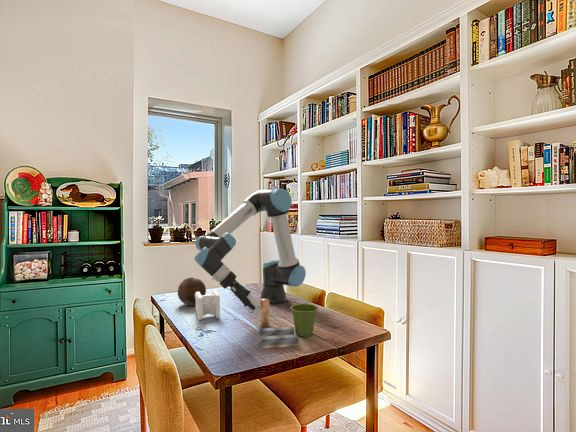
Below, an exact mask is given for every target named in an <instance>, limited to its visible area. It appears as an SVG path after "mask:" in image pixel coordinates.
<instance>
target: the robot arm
mask: <svg viewBox="0 0 576 432" xmlns="http://www.w3.org/2000/svg"><path fill="white" fill-rule="evenodd" d="M292 202H293V201H292V197H291V194H290V193H289V192H288V191H287V190H286V189H284V188H278V187H276V188H267V189H266V188H264V189H262V188H261V189H259V190H257V191H255V192H253V193H251V195H249V196H248V197H246V199H245V200H243V201H242V203H241V205H240V206H239V207H237V208H236V210H234V211H233V212H232V213H231V214H230V215H228V216H227V217H226V218H224V219H223V220H222V221H221V222H219V223H218V224H217V225H216V226H215V227H214V228H212V230H210V231H209V232H208V233H206V234H205V235H201V236H198V237H197V238H196V239H195V247H196V248H195V249H197V250H198V253H197V254H196V255H195V256H194V261H195V263H197V265H198V266H199V267H201V268H202V269H203V270H204V271H205V272H207V274H209V276H211V277H212V278H211V279H212V280H213V281H216V282H217V283H219V285H220V286H221V287H222V288H223V289H227V288H229V287H230V291H231V292H232V293H233V294H234V296H236V298H238V300H239V301H240V302H241V303H242V304H243V305H244V306H243V307H244V308H248V309H249V310H251V312H252V313H254V314H255V316H257V317H258V316H260V313H261V312H262V311H261V310H260V307H258V306H259V305H260V299H263V298H268V299H269V305H270V304H271V305H272V304H275V305H276V304H282V303H285V302H286V301H287V298H288V297H287V294H286V290H285V287H284V286H287V287H288V286H289V287H295V288H296V287H300V286H301V285H302V284H303V283H304V280H305V278H306V268H305V267H304V266H303V265H301V264H300V260H299V258H297V257H296V254H295V249H294V245H293V238H292V233H291V229H290V224H289V220H288V214H289V213H290V208H292V206H291V205H292ZM261 212H266V214H267V217H268V218H269V219H270V220H271V221H270V222H271V225H272V226H271V227H272V229H273V233H274V234H273V235H274V238H275V243H276V244H275V245H276V249H277V252H278V258H279V259H275V260H267V261H264V262H263V265H262V284H263V285H262V286H263V287H262V290H261V294H260V299H259V300H258V299H257V298H255V296H254V295H252V293H251V290H248V289H247V288H246V287H244V286H243V285H242V284H240V282H239V281H237V275H236V274H235V273H234V272H233V271H230V270H231V269H230V268H229V267H228V266H227V265H226V264H225V263H224V262H222V260H224V258H225V257H226V256H227V255H228V254H229V253H230V252H231V251H232V250H233V249H234V247H235V246H236V245H237V240H236V238H235V237H234V236H233V235H232V234H233V233H234V232H235V231H236V230H237V229H238V228H240V226H241V225H242V224H244V223H245V222H246V221H247V220H248V219H250V217H253V216H254V217H255V216H256V215H257V214H259V213H261Z"/></svg>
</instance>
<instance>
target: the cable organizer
mask: <svg viewBox="0 0 576 432" xmlns="http://www.w3.org/2000/svg"><path fill="white" fill-rule="evenodd" d="M211 291H212V292H211V294H205V295H202V296H201V294H200V292H196V293H195V298H196V305H195V314H196V316H197V319H198V320H199V321H202V320H204V317H206V316H207V315H210V314H211V316H213V315H214V316H215V318H216V319H218V318H221V310H220V309H221V304H220V303H221V302H220V301H221V298H220V297H221V296H220V293H219V292H218V291H217V289H212V290H211Z"/></svg>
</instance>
